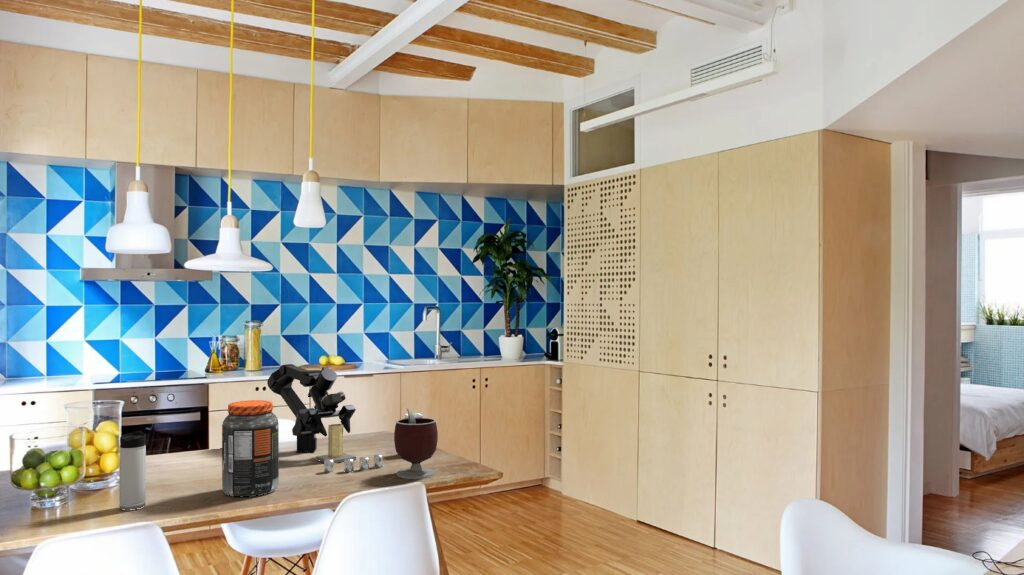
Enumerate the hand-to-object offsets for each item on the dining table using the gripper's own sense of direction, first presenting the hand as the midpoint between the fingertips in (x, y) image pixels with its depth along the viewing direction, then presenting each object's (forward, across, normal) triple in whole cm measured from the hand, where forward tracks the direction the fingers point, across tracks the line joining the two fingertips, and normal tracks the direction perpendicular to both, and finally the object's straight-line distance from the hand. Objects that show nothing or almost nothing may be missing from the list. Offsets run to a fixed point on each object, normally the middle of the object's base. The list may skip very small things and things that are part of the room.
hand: (338, 434), depth 257 cm
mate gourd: (+31, +8, -17) cm, 36 cm away
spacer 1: (+16, -11, -2) cm, 19 cm away
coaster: (+6, 0, +8) cm, 9 cm away
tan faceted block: (+5, 0, +7) cm, 8 cm away
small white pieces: (+14, +25, 0) cm, 29 cm away
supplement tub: (+19, -40, -6) cm, 45 cm away
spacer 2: (+18, -6, -5) cm, 20 cm away
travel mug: (+15, -70, -2) cm, 72 cm away
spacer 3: (+19, -1, -6) cm, 20 cm away
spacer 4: (+19, +4, -6) cm, 21 cm away
